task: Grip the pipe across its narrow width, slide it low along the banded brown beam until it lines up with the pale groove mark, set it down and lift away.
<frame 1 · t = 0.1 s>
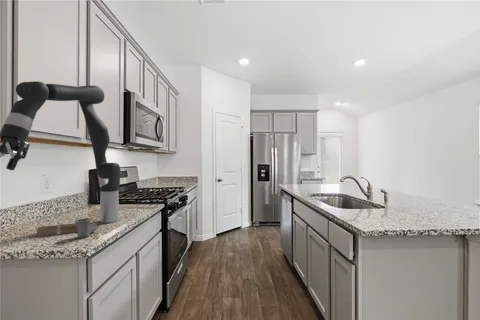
banded brown beam: (64, 232, 120), on the countertop
pipe: (86, 236, 115), on the countertop
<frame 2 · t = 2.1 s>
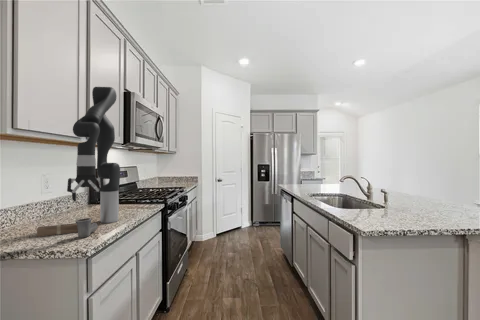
hand: (85, 200, 115), 16 cm above the countertop, tool pointing down, fingers open, 8 cm apart
nothing on the countertop moved.
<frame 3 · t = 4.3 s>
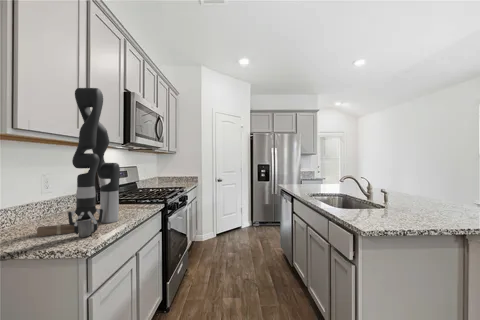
hand: (85, 232, 115), 1 cm above the countertop, tool pointing down, fingers closed on pipe, 6 cm apart
pipe: (87, 235, 116), on the countertop, touching gripper
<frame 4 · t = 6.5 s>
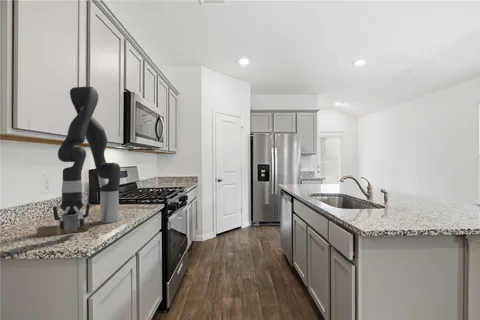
hand: (71, 227, 112), 4 cm above the countertop, tool pointing down, fingers closed on pipe, 6 cm apart
pipe: (73, 230, 113), point 3 cm above the countertop, touching gripper
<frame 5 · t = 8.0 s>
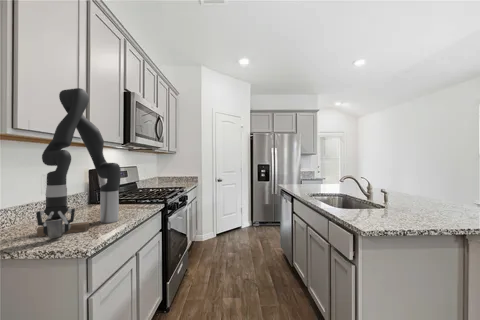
hand: (56, 233, 110), 3 cm above the countertop, tool pointing down, fingers closed on pipe, 6 cm apart
pipe: (57, 236, 111), point 1 cm above the countertop, touching gripper
when the fingers open (2 cm above the countertop, at t = 8.9 s): pipe moves 1 cm, on the countertop.
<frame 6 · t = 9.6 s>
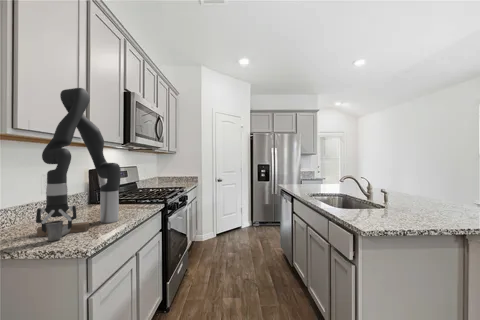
hand: (57, 230, 110), 4 cm above the countertop, tool pointing down, fingers open, 8 cm apart
pipe: (57, 238, 111), on the countertop, touching gripper
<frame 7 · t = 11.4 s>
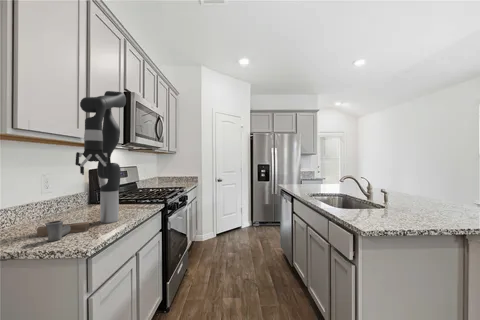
hand: (93, 174, 118), 28 cm above the countertop, tool pointing down, fingers open, 8 cm apart
pipe: (57, 238, 111), on the countertop
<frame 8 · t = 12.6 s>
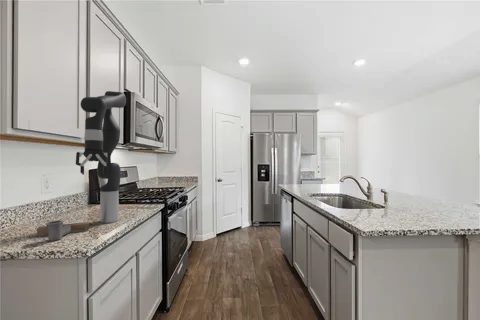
hand: (93, 174, 118), 28 cm above the countertop, tool pointing down, fingers open, 8 cm apart
nothing on the countertop moved.
at the end: pipe 1.7 cm from the target spot, on the countertop; the gripper is holding nothing; pipe moved 10.6 cm from its start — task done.
